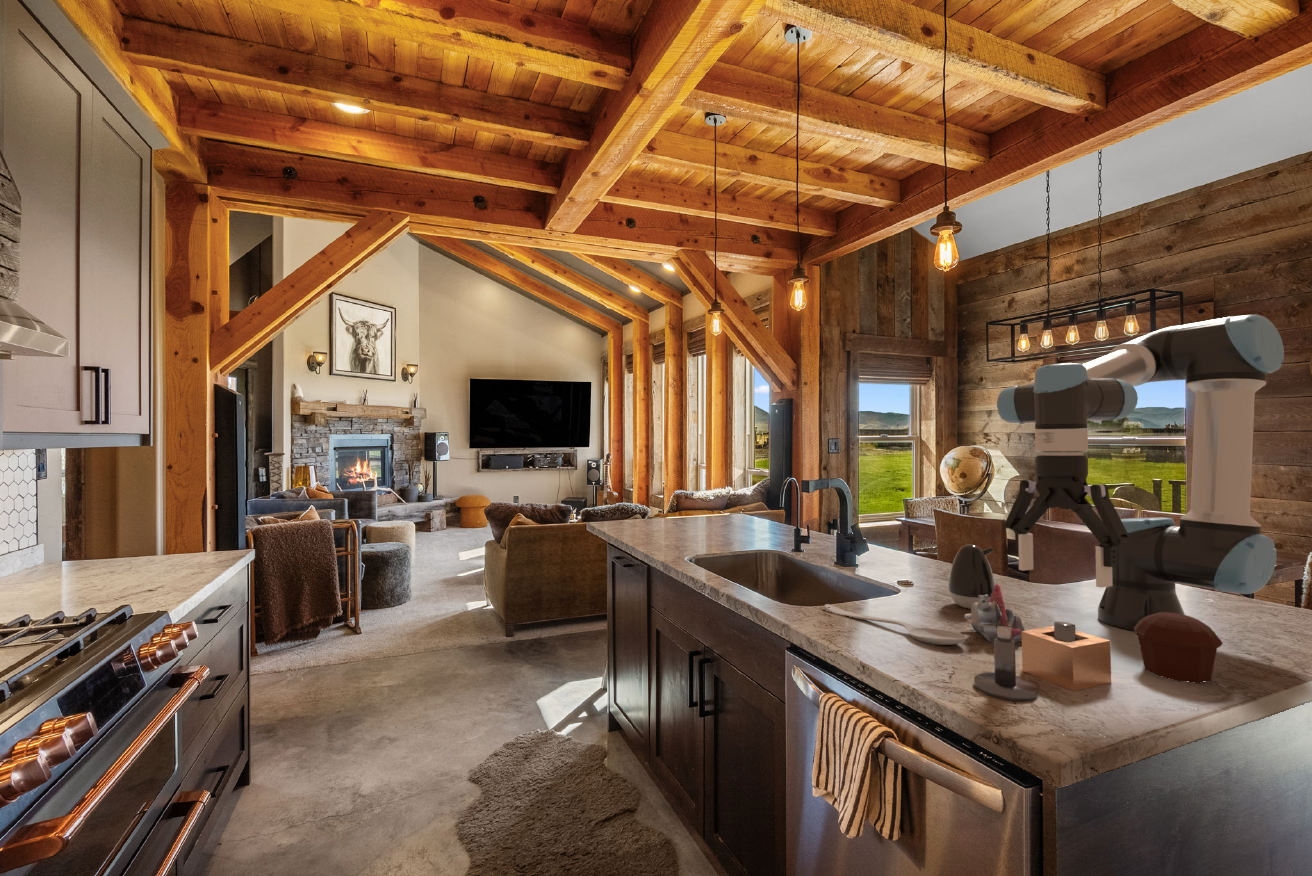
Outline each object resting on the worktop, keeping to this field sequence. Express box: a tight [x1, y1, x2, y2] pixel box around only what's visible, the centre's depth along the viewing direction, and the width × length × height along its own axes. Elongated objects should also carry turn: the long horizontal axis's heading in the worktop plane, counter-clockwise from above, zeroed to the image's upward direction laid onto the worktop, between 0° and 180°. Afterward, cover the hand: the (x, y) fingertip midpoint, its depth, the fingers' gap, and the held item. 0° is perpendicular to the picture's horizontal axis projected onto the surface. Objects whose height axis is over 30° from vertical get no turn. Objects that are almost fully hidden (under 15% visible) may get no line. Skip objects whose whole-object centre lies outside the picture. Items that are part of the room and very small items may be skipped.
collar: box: [1021, 625, 1112, 692], centre depth 102 cm, size 9×9×7 cm
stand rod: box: [1053, 621, 1076, 642], centre depth 102 cm, size 3×3×9 cm
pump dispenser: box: [948, 543, 996, 610], centre depth 145 cm, size 10×10×15 cm
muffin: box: [1133, 612, 1224, 684], centre depth 103 cm, size 12×11×10 cm
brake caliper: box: [963, 583, 1026, 644], centre depth 123 cm, size 11×11×12 cm
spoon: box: [823, 603, 968, 646], centre depth 130 cm, size 35×8×3 cm, turn 32°
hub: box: [973, 626, 1039, 702], centre depth 97 cm, size 9×9×10 cm
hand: (1062, 577), depth 102 cm, fingers open, 13 cm apart
